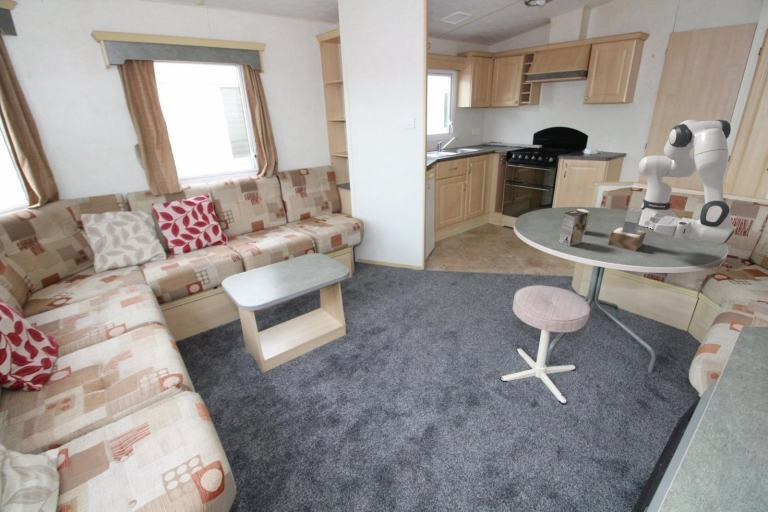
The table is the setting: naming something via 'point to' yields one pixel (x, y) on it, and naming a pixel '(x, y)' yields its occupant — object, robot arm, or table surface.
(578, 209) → the skincare box
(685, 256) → the table surface
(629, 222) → the block
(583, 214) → the coffee box
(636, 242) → the walnut stand
